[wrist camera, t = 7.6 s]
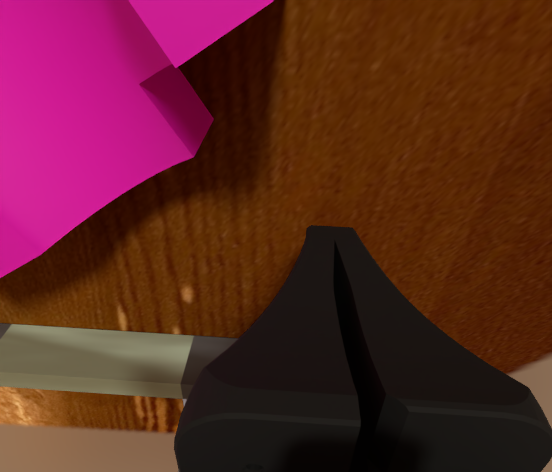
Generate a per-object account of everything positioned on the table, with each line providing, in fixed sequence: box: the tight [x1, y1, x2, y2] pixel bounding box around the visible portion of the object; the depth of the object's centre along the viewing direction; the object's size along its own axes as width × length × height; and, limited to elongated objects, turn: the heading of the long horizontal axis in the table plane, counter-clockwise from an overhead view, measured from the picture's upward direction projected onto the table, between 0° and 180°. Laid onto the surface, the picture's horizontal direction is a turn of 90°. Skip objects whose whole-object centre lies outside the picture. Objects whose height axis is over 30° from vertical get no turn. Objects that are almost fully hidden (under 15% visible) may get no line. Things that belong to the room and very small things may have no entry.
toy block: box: [0, 0, 274, 278], centre depth 12 cm, size 15×6×8 cm, turn 121°
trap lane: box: [0, 323, 237, 399], centre depth 15 cm, size 22×24×3 cm
